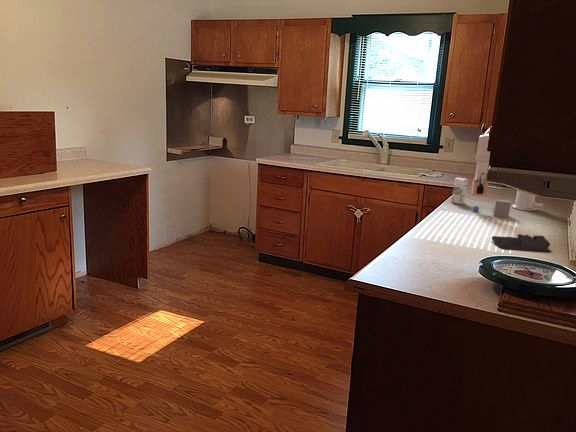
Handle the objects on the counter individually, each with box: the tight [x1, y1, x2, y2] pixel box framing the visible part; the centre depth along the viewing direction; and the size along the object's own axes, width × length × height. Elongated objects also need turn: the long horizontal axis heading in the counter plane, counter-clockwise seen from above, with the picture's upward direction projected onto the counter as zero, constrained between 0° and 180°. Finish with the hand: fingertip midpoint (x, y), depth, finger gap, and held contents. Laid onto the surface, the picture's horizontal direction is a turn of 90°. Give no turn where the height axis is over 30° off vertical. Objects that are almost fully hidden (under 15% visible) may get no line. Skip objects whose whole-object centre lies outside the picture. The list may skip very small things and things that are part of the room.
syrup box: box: [451, 177, 469, 205], centre depth 286 cm, size 6×6×14 cm
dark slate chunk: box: [491, 233, 553, 254], centre depth 208 cm, size 15×22×5 cm
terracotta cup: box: [470, 177, 489, 198], centre depth 266 cm, size 7×7×8 cm
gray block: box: [492, 198, 512, 219], centre depth 261 cm, size 7×7×8 cm
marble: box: [472, 205, 480, 212], centre depth 268 cm, size 3×3×3 cm
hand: (479, 192), depth 266 cm, fingers closed on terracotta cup, 7 cm apart
